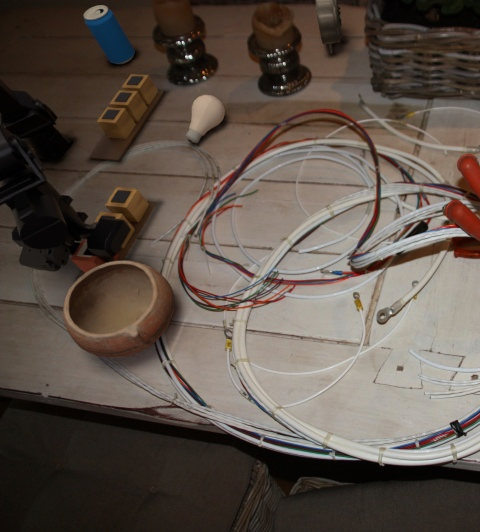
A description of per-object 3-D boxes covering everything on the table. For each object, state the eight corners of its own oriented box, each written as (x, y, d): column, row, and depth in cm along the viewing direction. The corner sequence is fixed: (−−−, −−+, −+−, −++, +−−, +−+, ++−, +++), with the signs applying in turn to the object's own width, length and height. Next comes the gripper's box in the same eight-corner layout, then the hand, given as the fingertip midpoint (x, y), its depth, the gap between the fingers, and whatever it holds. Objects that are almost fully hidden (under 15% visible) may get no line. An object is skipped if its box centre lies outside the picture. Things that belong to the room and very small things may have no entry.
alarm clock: (323, 31, 131) (306, -38, 117) (345, 27, 130) (331, -42, 117) (325, 58, 124) (307, -11, 111) (348, 54, 124) (333, -15, 111)
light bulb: (188, 134, 107) (215, 89, 109) (168, 130, 111) (195, 86, 113) (211, 153, 113) (236, 109, 115) (191, 148, 116) (216, 106, 118)
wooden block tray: (79, 278, 96) (60, 261, 92) (126, 201, 106) (111, 182, 101) (113, 282, 95) (96, 265, 90) (158, 204, 104) (144, 185, 100)
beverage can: (141, 53, 134) (115, 7, 124) (122, 68, 131) (93, 22, 121) (124, 47, 136) (97, 1, 127) (105, 62, 134) (75, 16, 124)
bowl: (161, 374, 83) (127, 346, 75) (73, 362, 86) (31, 334, 78) (199, 288, 92) (172, 254, 84) (117, 280, 95) (83, 246, 87)
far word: (90, 159, 114) (75, 140, 109) (138, 91, 125) (126, 71, 121) (119, 161, 112) (105, 142, 108) (165, 92, 124) (154, 72, 120)
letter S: (85, 273, 96) (69, 258, 92) (98, 253, 98) (82, 237, 94) (107, 276, 95) (92, 261, 91) (119, 255, 97) (105, 240, 93)
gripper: (-41, 240, 80) (30, 294, 93) (66, 252, 77) (124, 307, 89) (3, 184, 86) (64, 242, 99) (104, 193, 83) (154, 252, 95)
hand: (100, 261), depth 96 cm, fingers open, 5 cm apart
